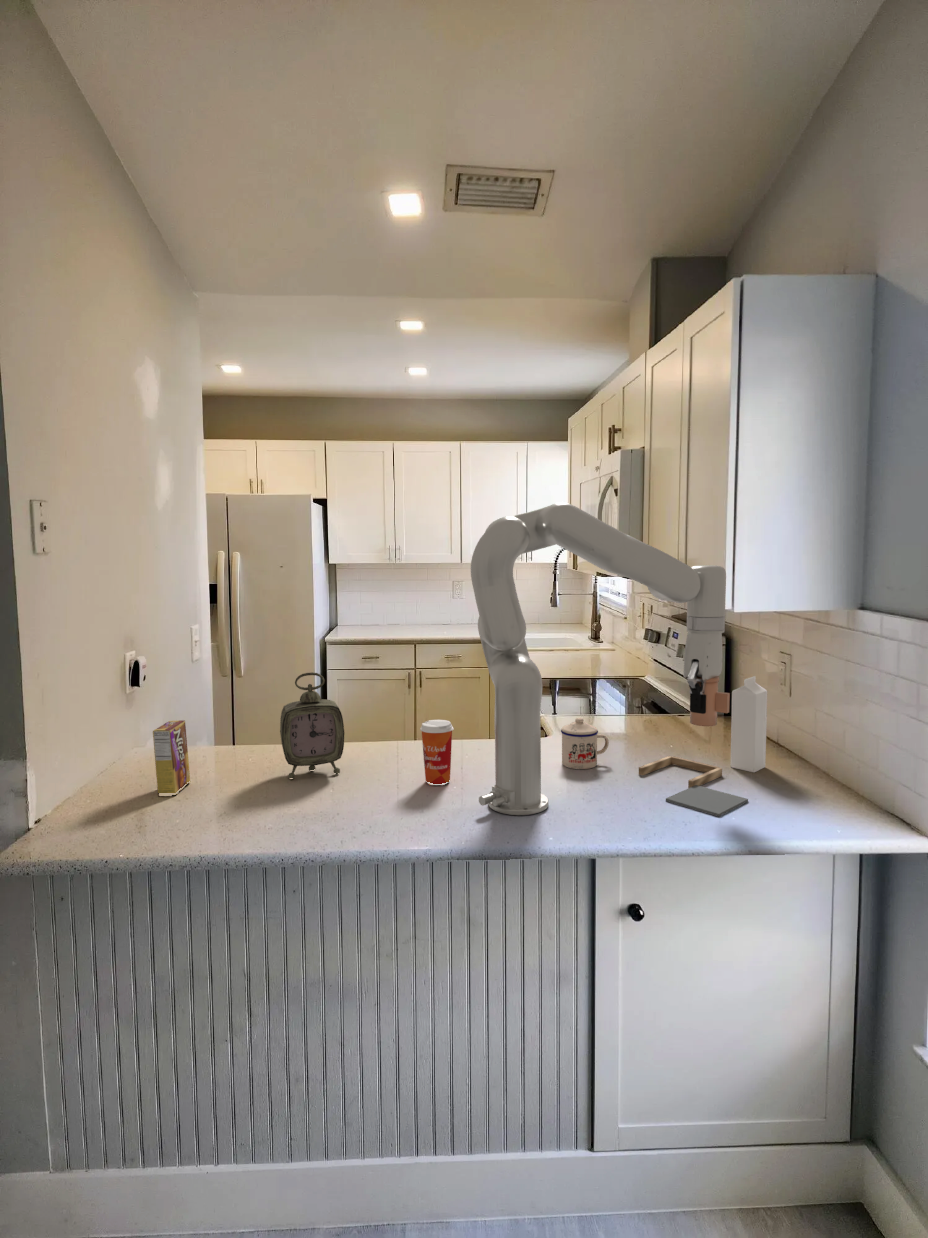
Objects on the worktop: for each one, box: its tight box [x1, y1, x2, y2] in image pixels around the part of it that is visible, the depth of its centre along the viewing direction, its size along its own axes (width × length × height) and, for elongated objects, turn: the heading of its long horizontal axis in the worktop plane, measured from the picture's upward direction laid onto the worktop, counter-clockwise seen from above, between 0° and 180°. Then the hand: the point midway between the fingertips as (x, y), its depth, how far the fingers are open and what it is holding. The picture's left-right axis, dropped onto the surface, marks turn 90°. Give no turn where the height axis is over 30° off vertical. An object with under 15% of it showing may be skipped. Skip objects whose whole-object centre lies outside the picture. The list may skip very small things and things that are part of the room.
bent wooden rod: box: [638, 755, 723, 789], centre depth 163 cm, size 14×14×2 cm
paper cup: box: [419, 719, 455, 784], centre depth 160 cm, size 8×8×14 cm
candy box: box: [152, 719, 191, 794], centre depth 158 cm, size 9×4×15 cm, turn 0°
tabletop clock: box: [279, 671, 345, 779], centre depth 167 cm, size 14×9×25 cm, turn 108°
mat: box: [665, 785, 749, 817], centre depth 146 cm, size 12×12×1 cm
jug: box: [689, 676, 731, 727], centre depth 145 cm, size 8×6×10 cm
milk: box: [730, 675, 768, 773], centre depth 167 cm, size 6×6×22 cm
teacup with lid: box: [560, 717, 610, 770], centre depth 172 cm, size 12×9×12 cm
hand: (703, 709), depth 146 cm, fingers closed on jug, 5 cm apart
